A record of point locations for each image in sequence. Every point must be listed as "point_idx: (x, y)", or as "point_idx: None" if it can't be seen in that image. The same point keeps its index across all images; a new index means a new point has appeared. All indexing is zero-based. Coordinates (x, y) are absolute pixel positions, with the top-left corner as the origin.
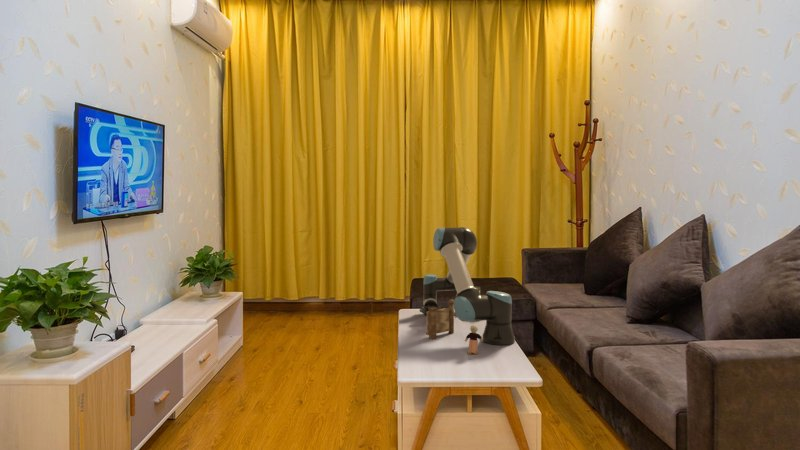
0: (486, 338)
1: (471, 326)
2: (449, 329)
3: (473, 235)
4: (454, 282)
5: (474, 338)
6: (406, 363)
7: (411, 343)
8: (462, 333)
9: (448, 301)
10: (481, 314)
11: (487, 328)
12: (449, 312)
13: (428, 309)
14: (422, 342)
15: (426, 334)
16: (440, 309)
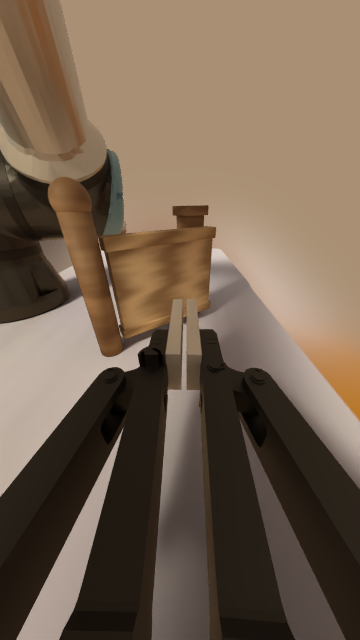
0: (65, 283)
1: (124, 221)
2: (121, 326)
3: None
4: (69, 43)
5: None
6: (225, 258)
7: (239, 291)
8: (72, 345)
9: (87, 194)
10: None
11: (49, 264)
12: (102, 261)
13: (206, 214)
14: (214, 295)
15: (208, 306)
16: (151, 232)
